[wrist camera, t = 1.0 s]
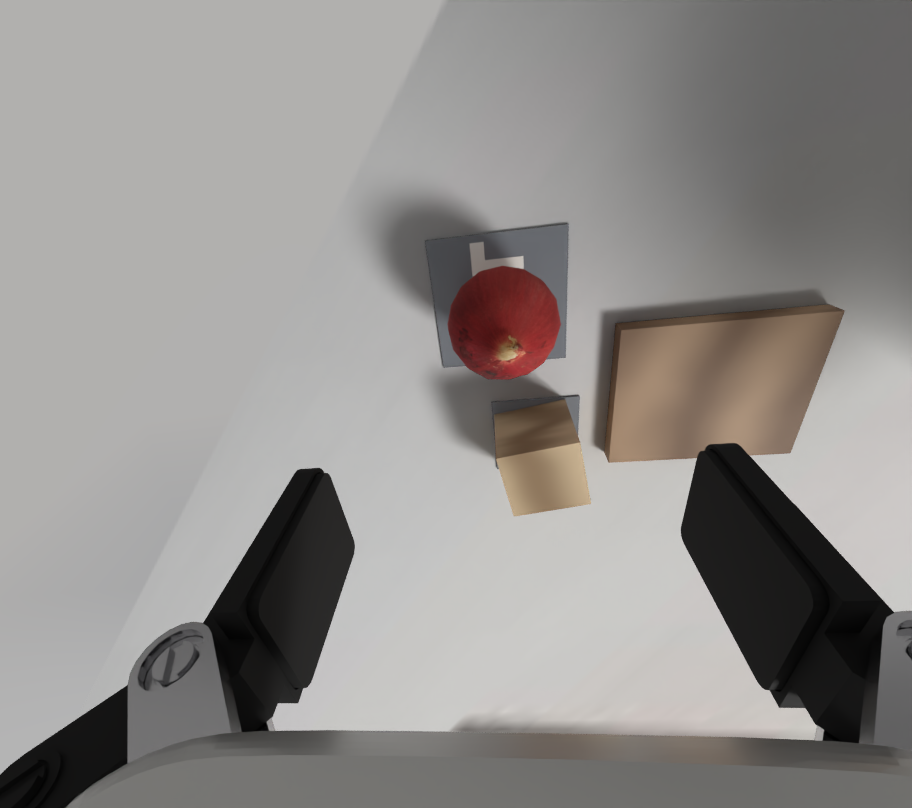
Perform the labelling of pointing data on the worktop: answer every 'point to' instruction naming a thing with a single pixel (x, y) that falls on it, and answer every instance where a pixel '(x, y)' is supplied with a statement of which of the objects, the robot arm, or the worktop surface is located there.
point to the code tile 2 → (519, 404)
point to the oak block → (540, 459)
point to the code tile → (516, 248)
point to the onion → (503, 322)
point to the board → (715, 381)
